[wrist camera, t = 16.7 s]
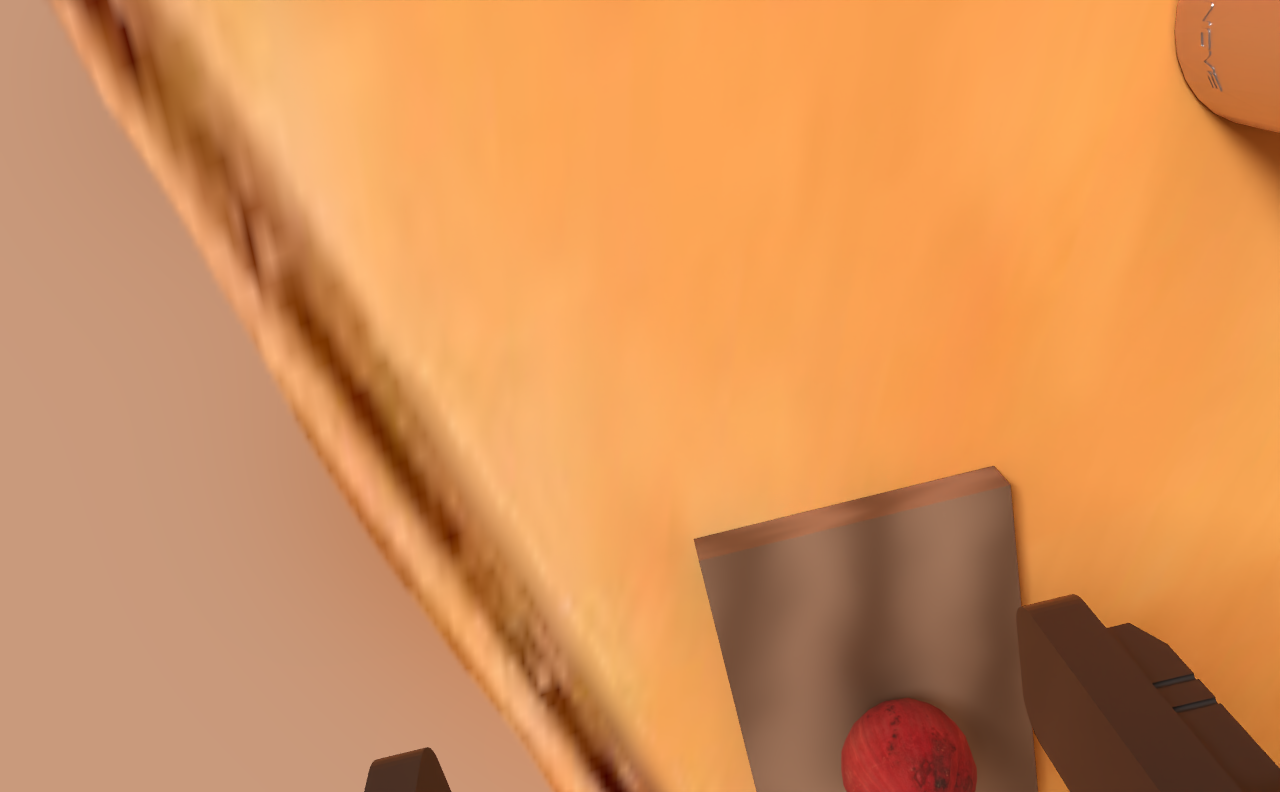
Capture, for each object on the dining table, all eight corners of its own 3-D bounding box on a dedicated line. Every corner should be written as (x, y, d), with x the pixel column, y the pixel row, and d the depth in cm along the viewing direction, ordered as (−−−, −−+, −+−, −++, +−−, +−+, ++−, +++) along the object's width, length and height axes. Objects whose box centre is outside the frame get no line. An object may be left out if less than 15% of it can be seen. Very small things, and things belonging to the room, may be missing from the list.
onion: (852, 650, 46) (910, 779, 39) (961, 676, 47) (1036, 806, 40) (805, 744, 48) (850, 884, 41) (910, 767, 49) (972, 907, 42)
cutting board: (993, 465, 45) (1010, 485, 43) (1024, 785, 53) (1039, 811, 51) (693, 539, 45) (699, 561, 43) (770, 845, 53) (777, 874, 51)
